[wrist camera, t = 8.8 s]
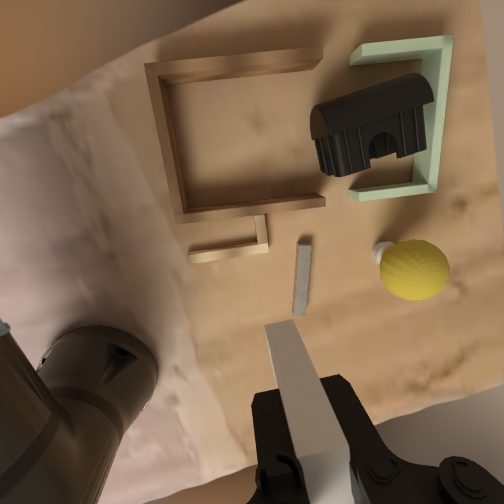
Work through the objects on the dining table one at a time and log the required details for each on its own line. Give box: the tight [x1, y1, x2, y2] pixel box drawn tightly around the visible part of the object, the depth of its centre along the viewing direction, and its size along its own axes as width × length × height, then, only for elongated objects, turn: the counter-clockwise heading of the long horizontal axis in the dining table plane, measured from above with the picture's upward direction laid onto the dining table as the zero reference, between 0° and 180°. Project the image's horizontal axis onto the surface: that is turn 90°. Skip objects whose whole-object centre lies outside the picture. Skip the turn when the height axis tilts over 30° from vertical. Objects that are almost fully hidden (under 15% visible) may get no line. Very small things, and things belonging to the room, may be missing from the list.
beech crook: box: [187, 214, 269, 264], centre depth 34 cm, size 10×5×1 cm, turn 97°
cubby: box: [144, 46, 326, 224], centre depth 29 cm, size 16×15×4 cm
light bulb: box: [372, 239, 450, 301], centre depth 32 cm, size 7×7×10 cm
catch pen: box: [348, 35, 454, 201], centre depth 30 cm, size 9×15×3 cm, turn 6°
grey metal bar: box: [292, 243, 312, 316], centre depth 36 cm, size 10×2×2 cm, turn 179°
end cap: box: [310, 73, 434, 177], centre depth 28 cm, size 10×7×7 cm
